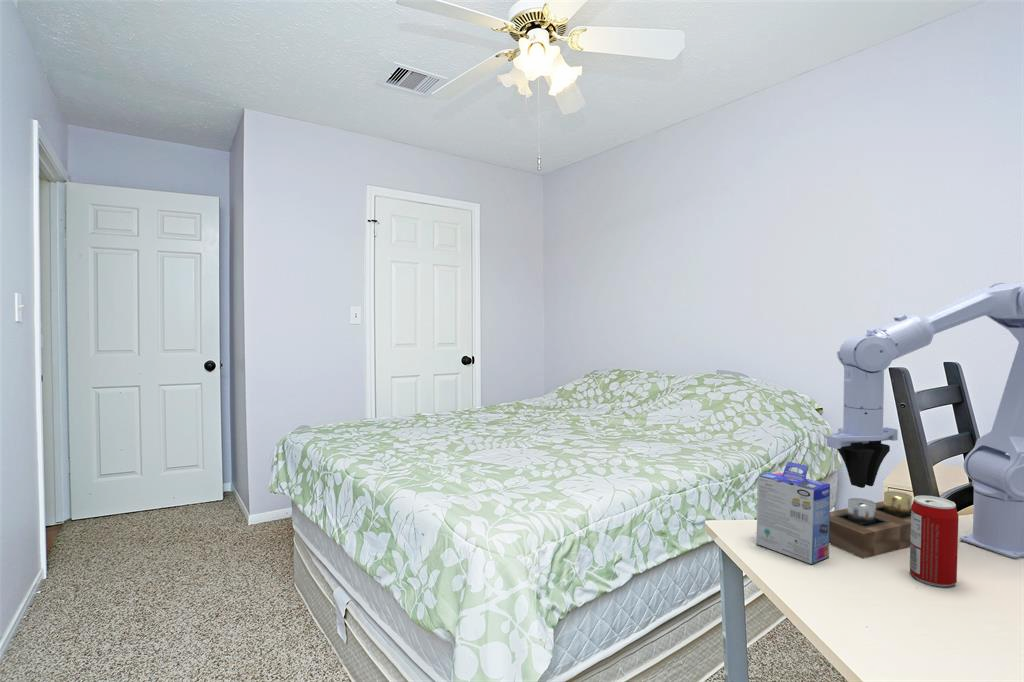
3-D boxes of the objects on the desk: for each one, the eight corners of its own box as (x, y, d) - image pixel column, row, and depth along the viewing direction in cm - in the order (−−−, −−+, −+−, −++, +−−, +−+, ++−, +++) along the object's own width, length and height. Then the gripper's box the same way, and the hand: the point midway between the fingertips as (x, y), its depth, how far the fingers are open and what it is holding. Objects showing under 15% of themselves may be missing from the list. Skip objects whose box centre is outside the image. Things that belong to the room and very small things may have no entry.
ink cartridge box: (831, 557, 88) (832, 469, 88) (813, 566, 85) (814, 475, 84) (773, 537, 96) (773, 456, 96) (755, 544, 93) (755, 461, 93)
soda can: (966, 586, 78) (969, 504, 78) (933, 589, 78) (935, 507, 77) (931, 568, 84) (933, 491, 83) (900, 571, 83) (902, 494, 82)
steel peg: (858, 517, 96) (859, 496, 96) (881, 525, 92) (881, 504, 92) (842, 520, 95) (842, 499, 94) (864, 529, 91) (864, 507, 91)
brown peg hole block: (892, 519, 103) (893, 499, 103) (945, 538, 95) (945, 515, 94) (814, 537, 96) (814, 514, 96) (863, 558, 88) (863, 534, 87)
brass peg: (893, 509, 99) (894, 490, 99) (916, 517, 95) (917, 496, 95) (878, 513, 98) (878, 492, 98) (901, 521, 94) (901, 500, 94)
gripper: (870, 400, 99) (869, 473, 99) (811, 406, 94) (810, 483, 94) (910, 406, 92) (909, 484, 93) (849, 413, 87) (848, 496, 88)
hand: (861, 485), depth 93 cm, fingers closed
